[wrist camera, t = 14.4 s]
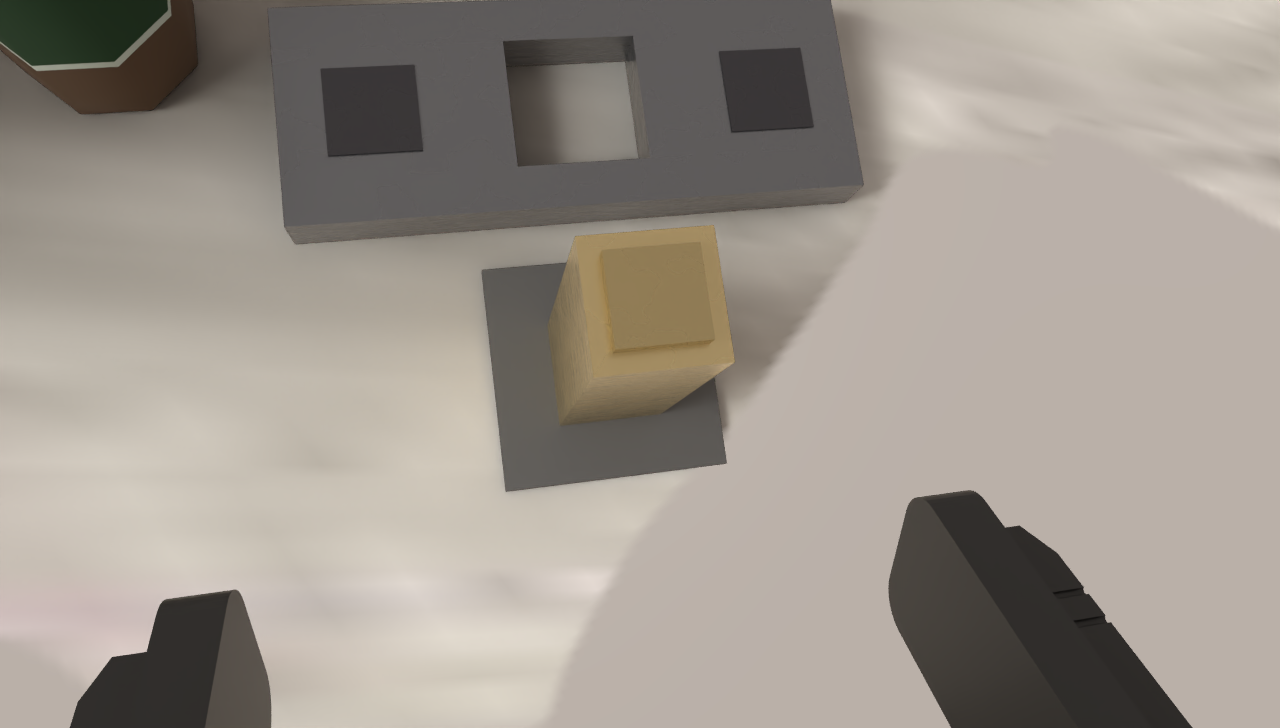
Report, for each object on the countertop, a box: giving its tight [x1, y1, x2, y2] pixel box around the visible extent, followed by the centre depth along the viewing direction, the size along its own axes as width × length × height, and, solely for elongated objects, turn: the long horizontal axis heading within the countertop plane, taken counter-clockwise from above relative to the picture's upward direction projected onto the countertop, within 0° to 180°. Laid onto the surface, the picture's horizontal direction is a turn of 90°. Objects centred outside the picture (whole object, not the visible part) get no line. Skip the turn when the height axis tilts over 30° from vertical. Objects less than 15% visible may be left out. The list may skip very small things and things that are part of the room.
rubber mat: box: [482, 263, 727, 492], centre depth 43 cm, size 10×10×1 cm
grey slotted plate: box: [268, 0, 864, 244], centre depth 44 cm, size 26×10×2 cm, turn 98°
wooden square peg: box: [547, 225, 735, 426], centre depth 36 cm, size 5×5×14 cm
